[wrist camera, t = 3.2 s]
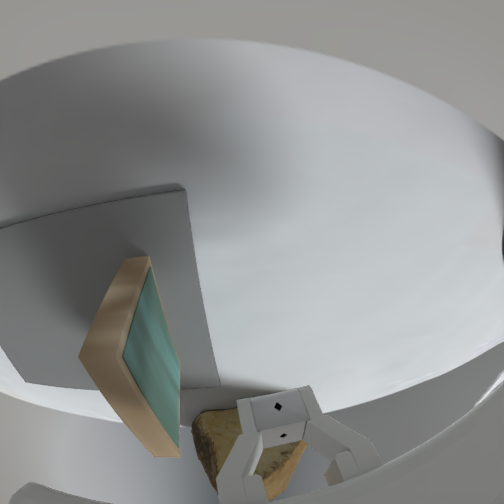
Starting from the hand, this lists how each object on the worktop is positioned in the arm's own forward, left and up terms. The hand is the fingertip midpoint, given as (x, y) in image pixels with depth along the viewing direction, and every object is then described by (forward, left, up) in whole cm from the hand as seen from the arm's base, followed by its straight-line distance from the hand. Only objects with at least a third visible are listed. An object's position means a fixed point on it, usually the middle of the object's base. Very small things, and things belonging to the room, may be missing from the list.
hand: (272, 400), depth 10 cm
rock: (0, +13, -7) cm, 15 cm away
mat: (+12, 0, -7) cm, 14 cm away
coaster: (+5, 0, -6) cm, 8 cm away
